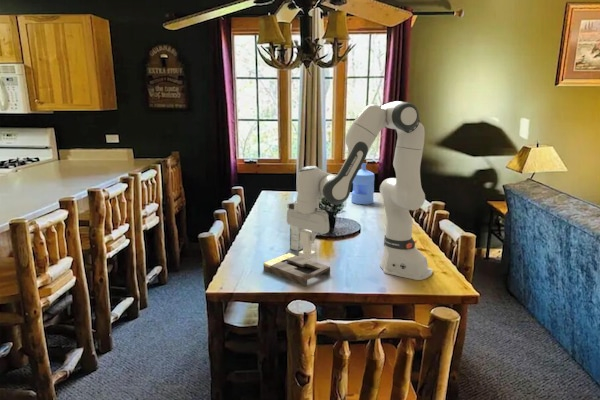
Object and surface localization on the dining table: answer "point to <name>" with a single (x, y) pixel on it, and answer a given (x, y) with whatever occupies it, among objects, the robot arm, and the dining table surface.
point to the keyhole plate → (294, 268)
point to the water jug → (363, 187)
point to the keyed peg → (306, 244)
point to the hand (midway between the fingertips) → (307, 239)
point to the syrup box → (295, 238)
